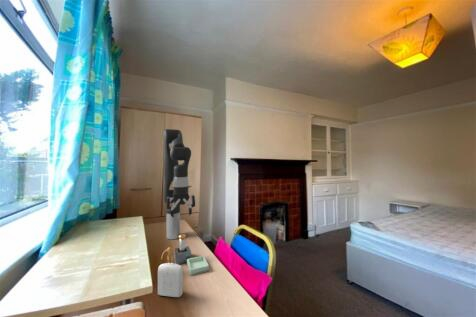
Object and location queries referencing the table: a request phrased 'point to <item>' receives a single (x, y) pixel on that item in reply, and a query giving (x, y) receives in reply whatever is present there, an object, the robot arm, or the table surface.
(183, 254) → the socket block
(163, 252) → the figurine
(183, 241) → the pin
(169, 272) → the photo printer
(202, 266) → the tray
